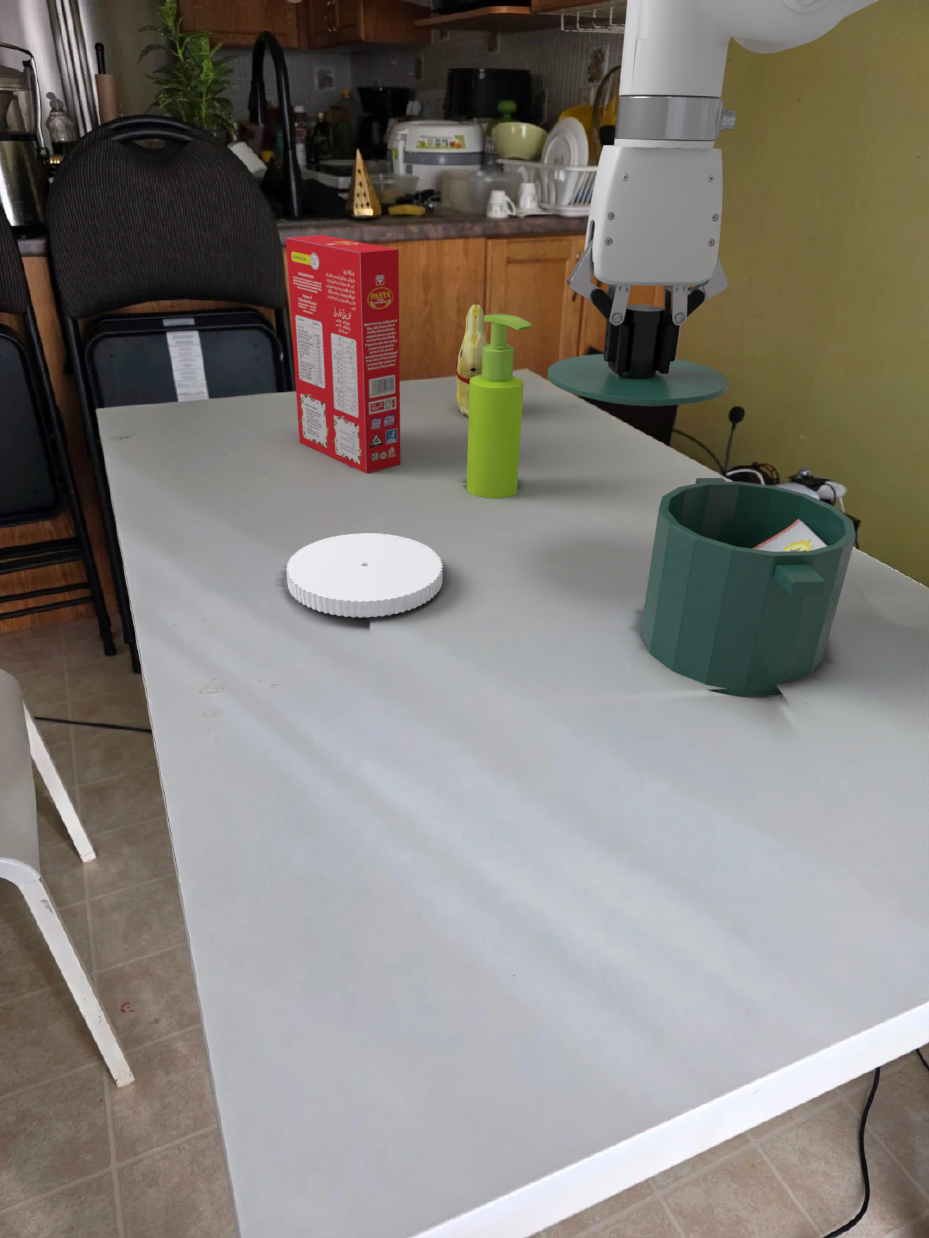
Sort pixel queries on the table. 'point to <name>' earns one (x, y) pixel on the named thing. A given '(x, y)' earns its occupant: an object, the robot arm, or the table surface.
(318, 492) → the table surface
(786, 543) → the white cardboard box
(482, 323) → the chocolate bunny
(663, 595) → the pot
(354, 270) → the food packaging
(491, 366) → the soap dispenser
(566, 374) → the pot lid
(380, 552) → the plastic lid
